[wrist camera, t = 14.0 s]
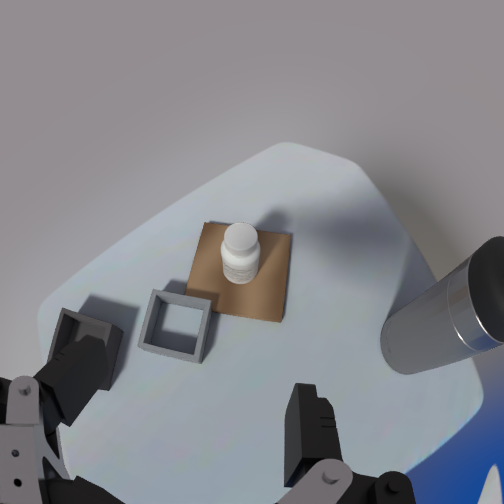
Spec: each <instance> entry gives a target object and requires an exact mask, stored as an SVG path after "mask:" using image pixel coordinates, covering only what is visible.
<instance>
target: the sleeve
mask: <svg viewBox="0 0 504 504" xmlns="http://www.w3.org/2000/svg"><path fill="white" fill-rule="evenodd" d="M161 302H166V303H170V304H175V305H180V306H185V307H190V308H195V309H200V310H204V311H203V315H202V320H201V324H200V329H199V333H198V338H197V343H196V348H195V352H194V355H191V354H187V353H182V352H178V351H174V350H170V349H165V348H161V347H157V346H154V345H150V343H151V339H152V335H153V331H154V327H155V323H156V320H157V316H158V312H159V308H160V305H161ZM211 308H212V302H211V300H207V299H201V298H196V297H191V296H185V295H180V294H175V293H170V292H165V291H160V290H156V289H153V291H152V294H151V297H150V301H149V304H148V308H147V311H146V315H145V319H144V322H143V326H142V330H141V334H140V338H139V342H138V346H137V347H139V348H141V349H143V350H145V351H149V352H153V353H156V354H160V355H164V356H168V357H172V358H176V359H181V360H185V361H190V362H194V363H199V364H201V363H202V358H203V353H204V348H205V343H206V338H207V333H208V328H209V323H210V318H211V314H212V310H211Z"/></svg>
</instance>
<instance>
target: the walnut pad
mask: <svg viewBox="0 0 504 504" xmlns="http://www.w3.org/2000/svg"><path fill="white" fill-rule="evenodd" d="M228 227H229V226H227V225H220V224H213V223H206V222H205V223H204V226H203V229H202V233H201V236H200V240H199V243H198V247H197V250H196V254H195V257H194V261H193V265H192V268H191V272H190V276H189V279H188V283H187V287H186V291H185V296H191V297H196V298H201V299H207V300H211V302H212V308H211V310H212V312H217V313H222V314H228V315H234V316H240V317H246V318H252V319H259V320H266V321H272V322H279V323H281V321H282V314H283V305H284V297H285V288H286V278H287V269H288V259H289V249H290V238H291V235H286V234H279V233H273V232H267V231H260V230H256V231H257V235H258V242H259V244H260V258H259V265H258V272H257V274H256V276H255V278H254V279H253V280H252V281H250V282H248V283H246V284H236V283H233V282H231V281H229V280H228V279H227V278H226V277H225V275H224V272H223V267H222V259H221V244H222V242H223V240H224V234H225V231H226V229H227V228H228Z"/></svg>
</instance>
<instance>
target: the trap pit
mask: <svg viewBox="0 0 504 504" xmlns="http://www.w3.org/2000/svg"><path fill="white" fill-rule="evenodd" d="M86 334H90V335H93V336H95V337H98V338H101V339H103V340H104V342H105V347H106V353H107V359H108V365H109V371H108V375H107V378H106V379H105V381H104V382H103V383H102V385H101V386H100V387H99V389H100V390H107V391H109V389H110V384H111V379H112V375H113V370H114V366H115V361H116V357H117V353H118V349H119V345H120V341H121V337H122V334H123V331H122V330H120V329H119V328H117V327H116V326H114V325H113V324H111V323H107V322H104V321H101V320H98V319H95V318H91V317H88V316H85V315H82V314H79V313H76V312H74V311H71V310H68V309H65V308H62V310H61V313H60V316H59V319H58V322H57V326H56V329H55V333H54V336H53V340H52V344H51V347H50V351H49V355H48V360H47V363H48V362H49V361H50V360H51V359H54V356H55V355H57V354H59V352H60V351H61V350H62V349H63V348H64V347H65V346H66V345H68V344H71V343H73V342H75V341H77V342H78V341H80V340H81V339H82V338H83V337H84V336H85V335H86Z"/></svg>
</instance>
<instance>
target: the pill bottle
mask: <svg viewBox="0 0 504 504" xmlns="http://www.w3.org/2000/svg"><path fill="white" fill-rule="evenodd" d="M259 258H260V244H259V242H258V235H257V231H256V230H255V228H254V227H253V226H251V225H250V224H248V223H244V222H238V223H234V224H232V225H230V226H229V227H228V228H227V229H226V231H225V234H224V240H223V242H222V244H221V259H222V267H223V272H224V275H225V277H226V278H227V279H228V280H229V281H231V282H233V283H236V284H246V283H248V282H250V281H252V280H253V279H254V278H255V276H256V274H257V272H258V265H259Z"/></svg>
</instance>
